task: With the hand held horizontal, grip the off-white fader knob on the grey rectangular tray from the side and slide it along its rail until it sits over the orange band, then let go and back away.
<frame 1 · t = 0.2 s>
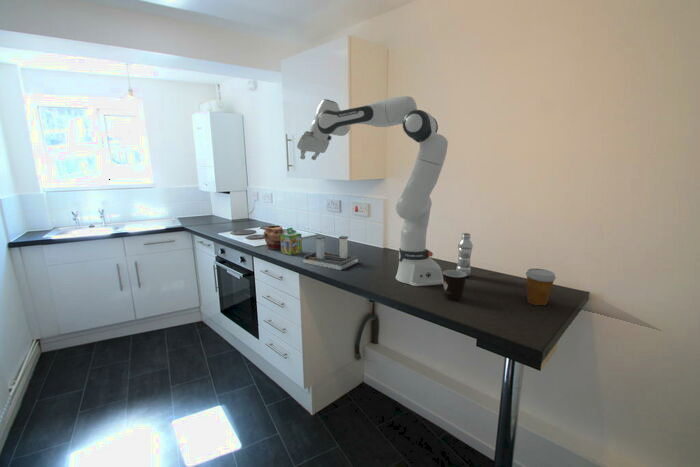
hand: (307, 159, 159), 54 cm above the worktop, tool tilted 25°, fingers open, 8 cm apart
disposable coffee cup: (536, 302, 119), on the worktop
fader b: (320, 247, 166), point 8 cm above the worktop, slide at 4.0 cm
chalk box: (291, 253, 188), on the worktop
coffee mug: (452, 296, 125), on the worktop
decorative planter: (274, 247, 200), on the worktop
grey rectangular tray: (330, 262, 169), on the worktop
fader a: (343, 247, 167), point 8 cm above the worktop, slide at -6.0 cm
plastic bottle: (462, 276, 148), on the worktop
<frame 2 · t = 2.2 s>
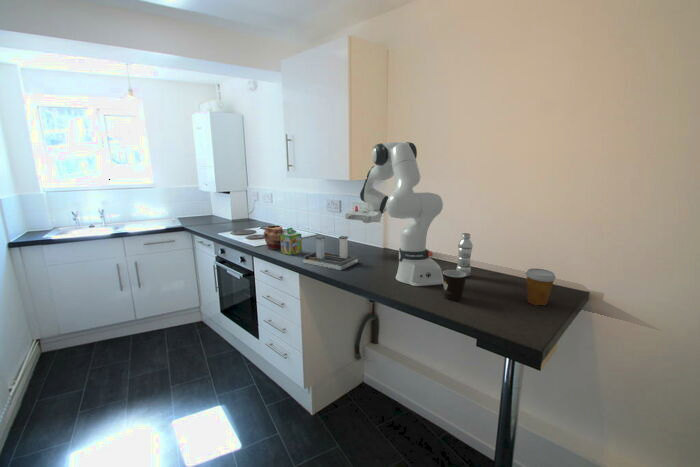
hand: (355, 218, 174), 22 cm above the worktop, tool horizontal, fingers open, 8 cm apart
nothing on the worktop moved.
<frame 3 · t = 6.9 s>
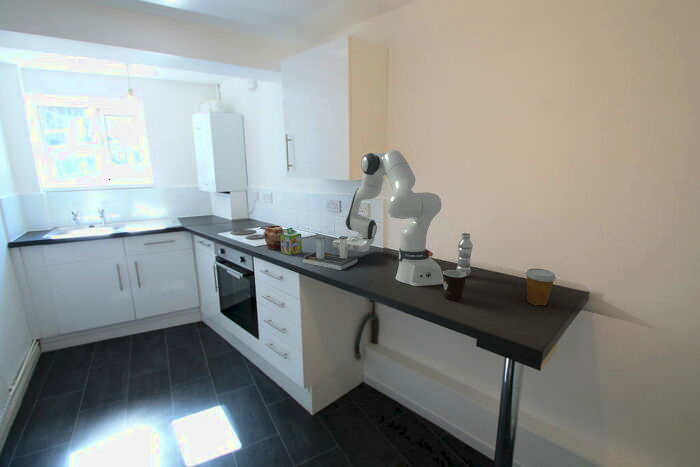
hand: (342, 248, 166), 8 cm above the worktop, tool horizontal, fingers closed on fader a, 3 cm apart
fader a: (343, 247, 167), point 8 cm above the worktop, slide at -6.0 cm, touching gripper
everything else where it was.
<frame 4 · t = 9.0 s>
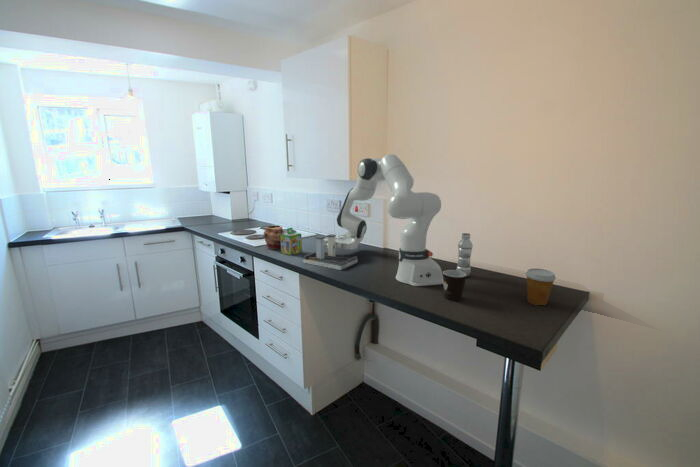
hand: (330, 246, 170), 8 cm above the worktop, tool horizontal, fingers closed on fader a, 3 cm apart
fader a: (331, 245, 171), point 8 cm above the worktop, slide at 1.6 cm, touching gripper
everything else where it was.
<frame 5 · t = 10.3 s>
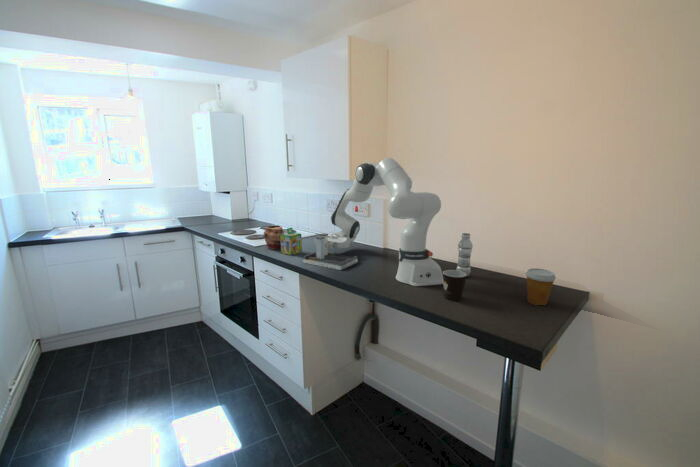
hand: (322, 245, 173), 8 cm above the worktop, tool horizontal, fingers closed on fader a, 3 cm apart
fader a: (323, 244, 174), point 8 cm above the worktop, slide at 6.9 cm, touching gripper
everything else where it was.
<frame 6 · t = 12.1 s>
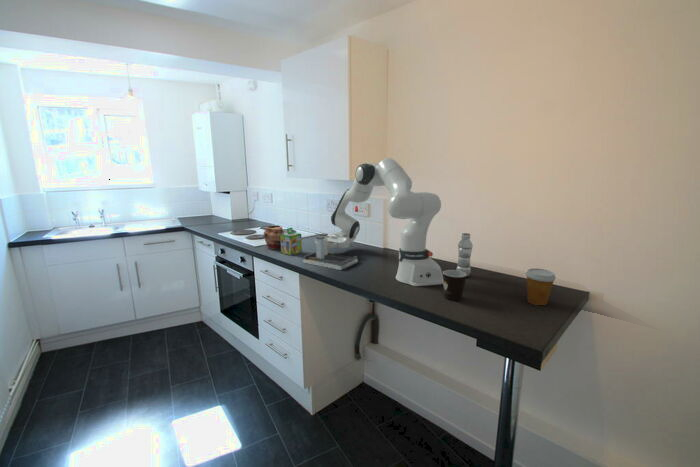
hand: (322, 245, 173), 8 cm above the worktop, tool horizontal, fingers open, 8 cm apart
fader a: (323, 244, 174), point 8 cm above the worktop, slide at 7.0 cm
everything else where it was.
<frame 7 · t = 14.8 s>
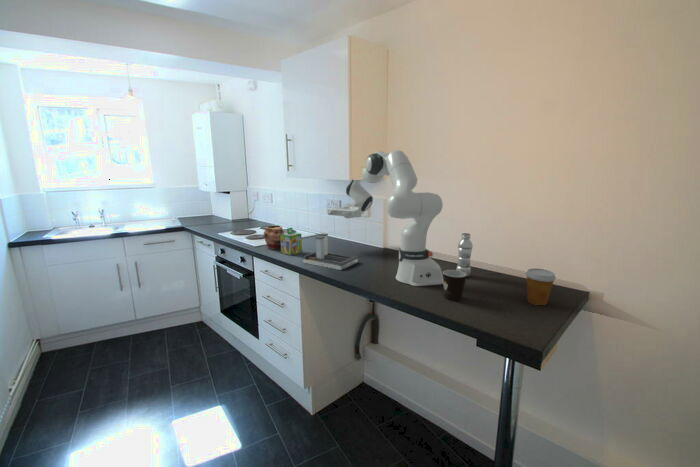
hand: (336, 214, 180), 24 cm above the worktop, tool horizontal, fingers open, 8 cm apart
nothing on the worktop moved.
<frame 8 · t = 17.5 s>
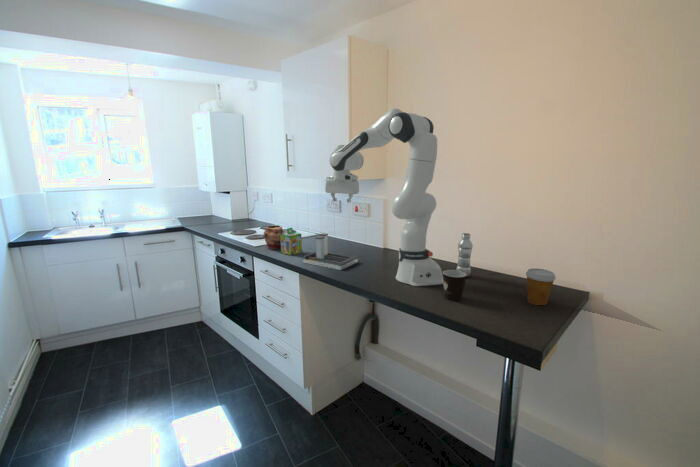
hand: (341, 201, 174), 31 cm above the worktop, tool pointing down, fingers open, 8 cm apart
nothing on the worktop moved.
at the end: fader a slide at 7.0 cm; the gripper is holding nothing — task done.
